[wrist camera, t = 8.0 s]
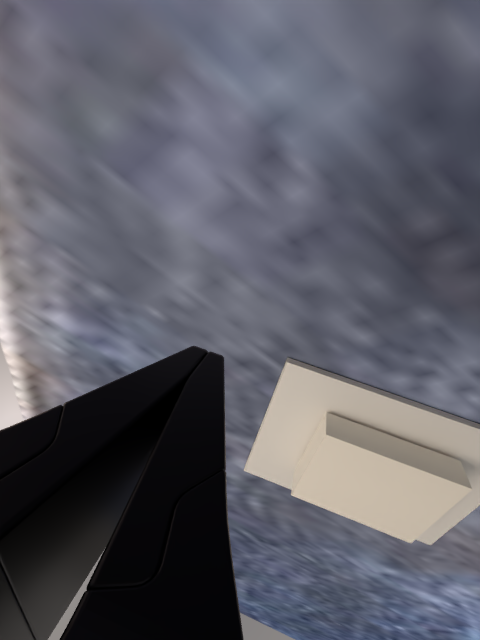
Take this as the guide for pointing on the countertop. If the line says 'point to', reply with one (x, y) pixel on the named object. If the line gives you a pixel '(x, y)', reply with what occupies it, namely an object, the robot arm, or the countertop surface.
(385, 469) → the tile
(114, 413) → the robot arm
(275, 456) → the beige board
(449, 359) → the countertop surface
